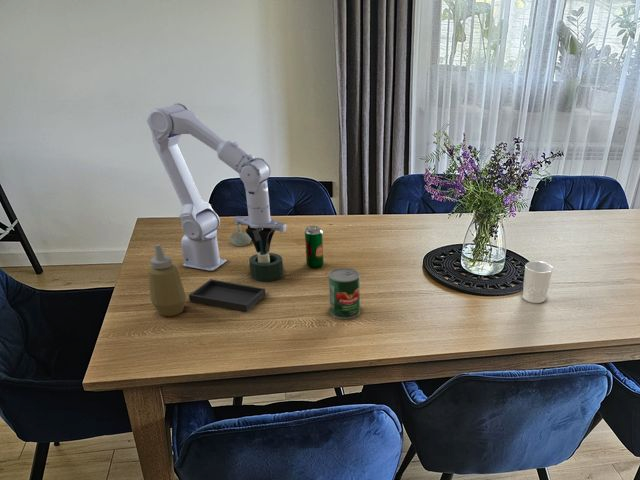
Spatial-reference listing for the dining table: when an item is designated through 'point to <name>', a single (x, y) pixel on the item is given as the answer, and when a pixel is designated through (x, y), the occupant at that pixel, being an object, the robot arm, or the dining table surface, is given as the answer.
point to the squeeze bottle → (165, 284)
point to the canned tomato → (344, 293)
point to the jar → (266, 268)
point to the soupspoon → (240, 238)
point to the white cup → (536, 281)
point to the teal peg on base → (262, 254)
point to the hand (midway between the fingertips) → (262, 251)
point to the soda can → (314, 247)
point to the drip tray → (227, 295)
